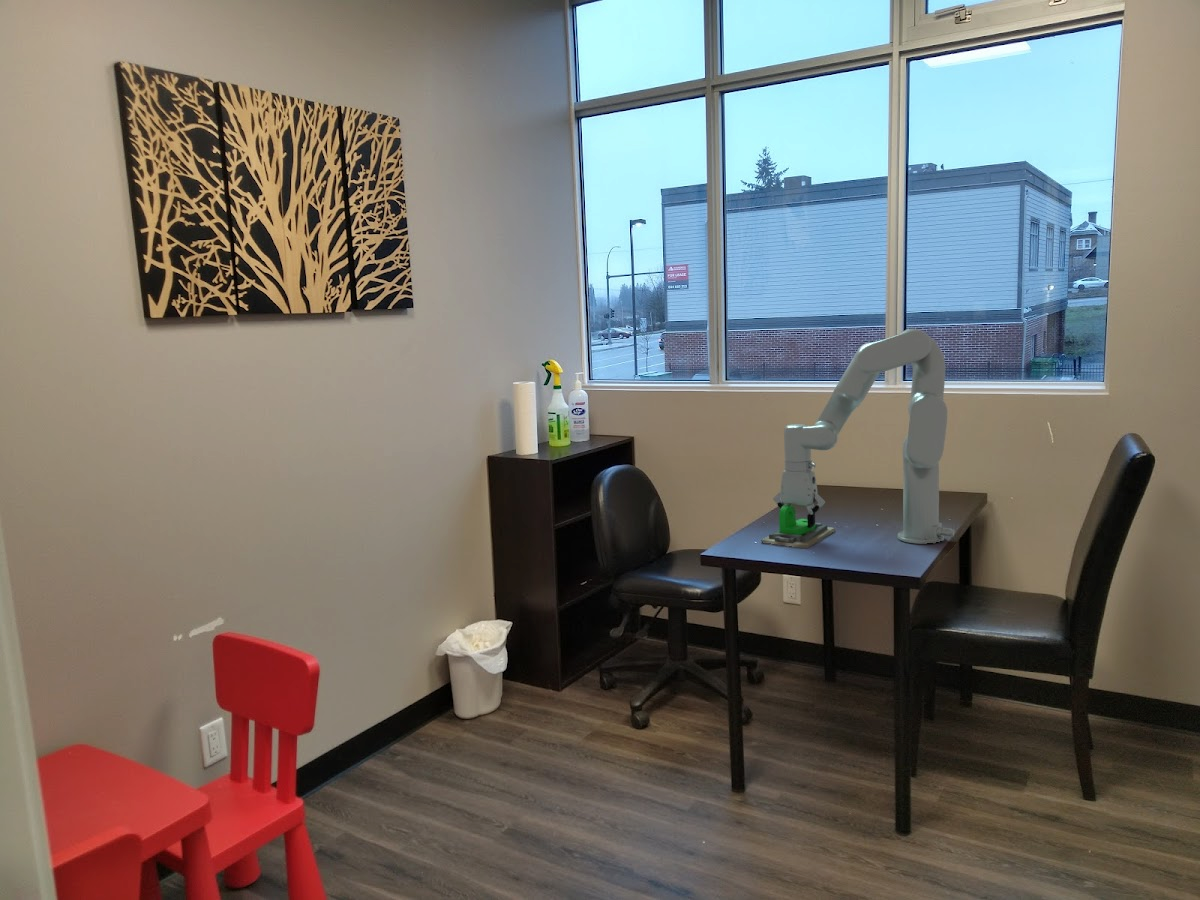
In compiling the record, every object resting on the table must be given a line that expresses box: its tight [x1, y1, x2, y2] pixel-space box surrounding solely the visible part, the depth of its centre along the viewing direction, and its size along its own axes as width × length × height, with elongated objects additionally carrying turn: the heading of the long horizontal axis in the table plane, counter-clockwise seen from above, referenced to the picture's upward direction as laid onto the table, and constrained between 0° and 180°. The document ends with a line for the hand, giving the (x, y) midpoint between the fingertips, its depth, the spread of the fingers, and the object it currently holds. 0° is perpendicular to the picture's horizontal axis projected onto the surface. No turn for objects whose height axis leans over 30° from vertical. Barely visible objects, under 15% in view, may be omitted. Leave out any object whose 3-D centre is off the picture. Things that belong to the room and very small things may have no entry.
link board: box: [760, 521, 836, 550], centre depth 256 cm, size 14×22×3 cm, turn 144°
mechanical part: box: [778, 505, 815, 535], centre depth 255 cm, size 12×6×8 cm, turn 135°
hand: (799, 525), depth 255 cm, fingers closed on mechanical part, 6 cm apart
